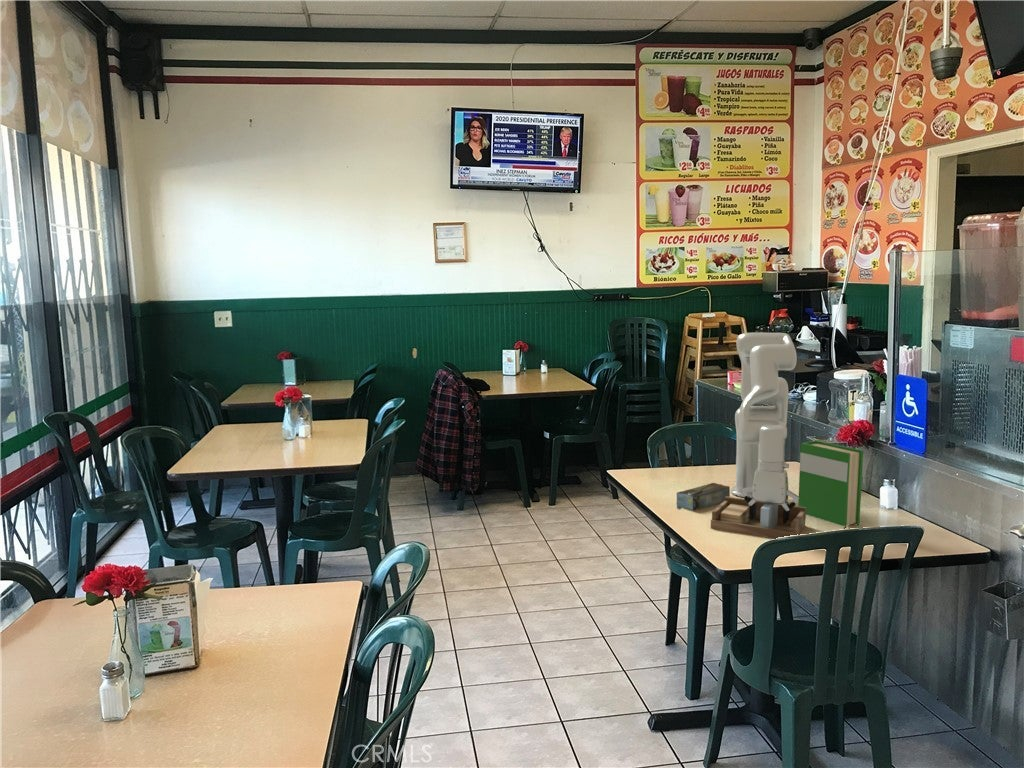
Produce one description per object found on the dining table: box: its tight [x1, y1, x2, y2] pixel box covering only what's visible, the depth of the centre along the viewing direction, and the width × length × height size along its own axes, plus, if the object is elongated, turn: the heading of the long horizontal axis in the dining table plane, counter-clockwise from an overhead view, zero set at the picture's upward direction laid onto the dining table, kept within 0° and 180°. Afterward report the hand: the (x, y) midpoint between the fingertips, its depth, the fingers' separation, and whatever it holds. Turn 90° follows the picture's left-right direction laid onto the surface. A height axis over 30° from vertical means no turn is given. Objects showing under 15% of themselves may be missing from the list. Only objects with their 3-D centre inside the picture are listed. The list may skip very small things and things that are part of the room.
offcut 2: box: [720, 512, 749, 524], centre depth 264 cm, size 11×6×2 cm, turn 150°
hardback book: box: [797, 440, 864, 529], centre depth 268 cm, size 18×7×24 cm, turn 32°
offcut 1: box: [721, 504, 750, 520], centre depth 263 cm, size 11×6×2 cm, turn 150°
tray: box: [710, 496, 807, 539], centre depth 260 cm, size 16×25×7 cm, turn 60°
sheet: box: [760, 502, 778, 528], centre depth 258 cm, size 12×2×8 cm, turn 150°
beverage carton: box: [676, 482, 731, 512], centre depth 286 cm, size 8×19×7 cm, turn 126°
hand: (769, 519), depth 258 cm, fingers open, 9 cm apart
